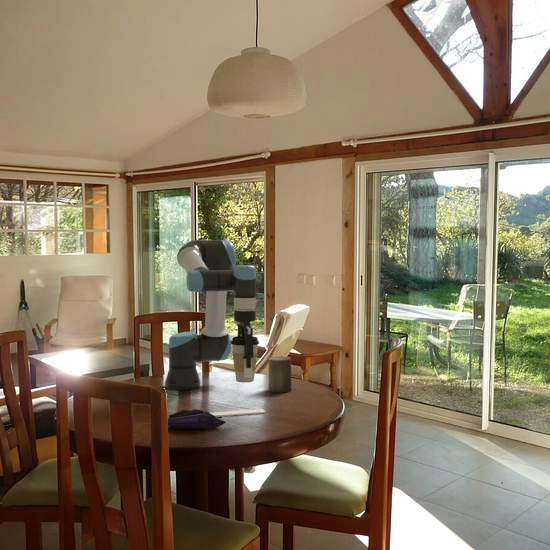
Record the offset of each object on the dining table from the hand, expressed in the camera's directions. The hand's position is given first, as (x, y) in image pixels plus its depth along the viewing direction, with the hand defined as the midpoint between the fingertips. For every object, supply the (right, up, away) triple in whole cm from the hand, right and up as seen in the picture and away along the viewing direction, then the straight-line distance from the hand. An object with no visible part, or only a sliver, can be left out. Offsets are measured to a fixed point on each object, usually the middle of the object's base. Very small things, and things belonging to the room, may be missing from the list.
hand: (245, 374), depth 215 cm
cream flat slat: (-5, -16, +9) cm, 19 cm away
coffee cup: (0, -2, 0) cm, 2 cm away
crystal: (-16, -17, -8) cm, 25 cm away
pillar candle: (+13, -14, +47) cm, 50 cm away
